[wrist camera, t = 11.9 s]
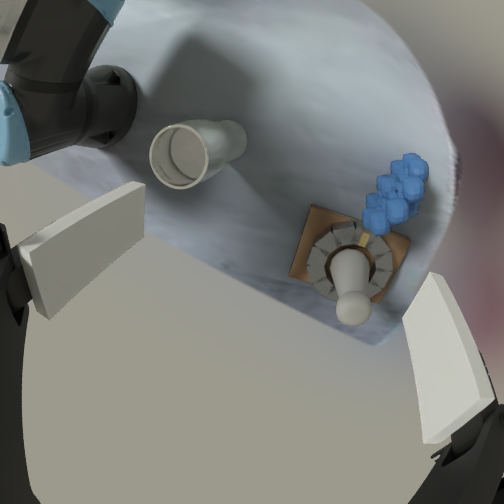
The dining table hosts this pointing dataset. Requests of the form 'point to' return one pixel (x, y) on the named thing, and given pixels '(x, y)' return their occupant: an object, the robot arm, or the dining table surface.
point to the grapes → (396, 195)
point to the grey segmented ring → (343, 236)
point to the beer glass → (195, 151)
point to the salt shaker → (351, 286)
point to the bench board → (322, 220)
